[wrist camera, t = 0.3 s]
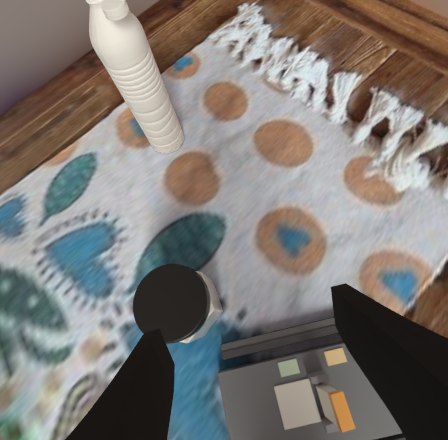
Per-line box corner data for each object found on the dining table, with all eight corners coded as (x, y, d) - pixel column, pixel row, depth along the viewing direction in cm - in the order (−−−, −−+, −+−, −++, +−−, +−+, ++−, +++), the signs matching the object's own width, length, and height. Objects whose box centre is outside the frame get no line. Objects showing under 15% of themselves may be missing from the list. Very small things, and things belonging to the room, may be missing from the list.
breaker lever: (333, 413, 30) (356, 429, 25) (322, 416, 30) (342, 433, 25) (323, 380, 32) (342, 390, 27) (312, 383, 31) (330, 393, 26)
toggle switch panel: (465, 409, 31) (496, 422, 27) (236, 462, 31) (234, 482, 27) (423, 321, 34) (445, 322, 31) (219, 370, 35) (215, 377, 31)
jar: (227, 282, 39) (217, 269, 28) (218, 341, 36) (202, 351, 25) (171, 273, 40) (140, 257, 29) (158, 329, 38) (118, 334, 27)
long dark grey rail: (381, 320, 35) (387, 320, 34) (224, 358, 35) (223, 360, 34) (375, 307, 36) (380, 306, 34) (221, 343, 36) (220, 345, 35)
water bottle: (145, 139, 50) (52, -13, 27) (172, 121, 51) (104, -42, 28) (170, 168, 47) (89, 24, 24) (198, 147, 48) (146, -10, 25)
